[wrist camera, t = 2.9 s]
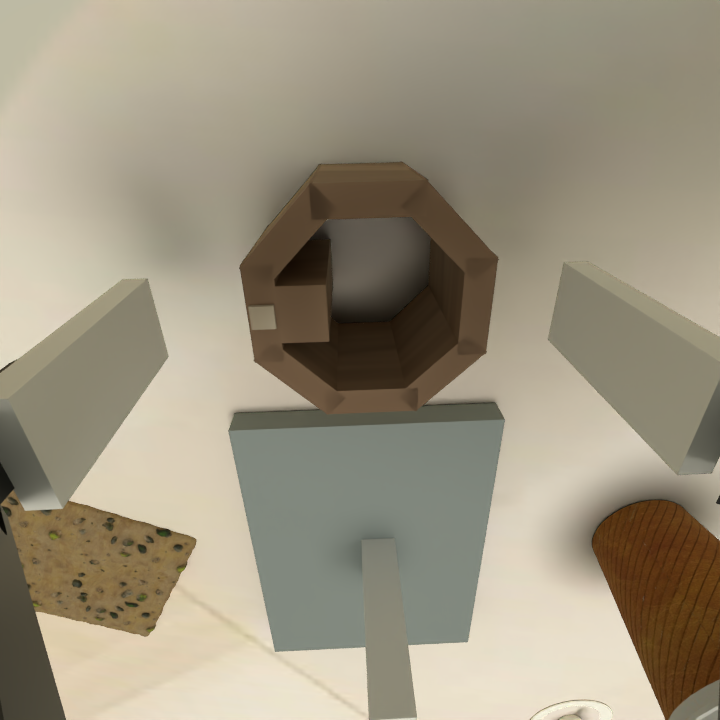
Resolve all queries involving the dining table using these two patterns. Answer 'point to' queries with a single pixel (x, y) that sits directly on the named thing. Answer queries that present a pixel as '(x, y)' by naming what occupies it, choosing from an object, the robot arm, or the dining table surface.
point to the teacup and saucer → (603, 709)
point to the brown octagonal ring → (367, 339)
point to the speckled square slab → (97, 564)
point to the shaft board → (369, 530)
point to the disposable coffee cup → (667, 601)
